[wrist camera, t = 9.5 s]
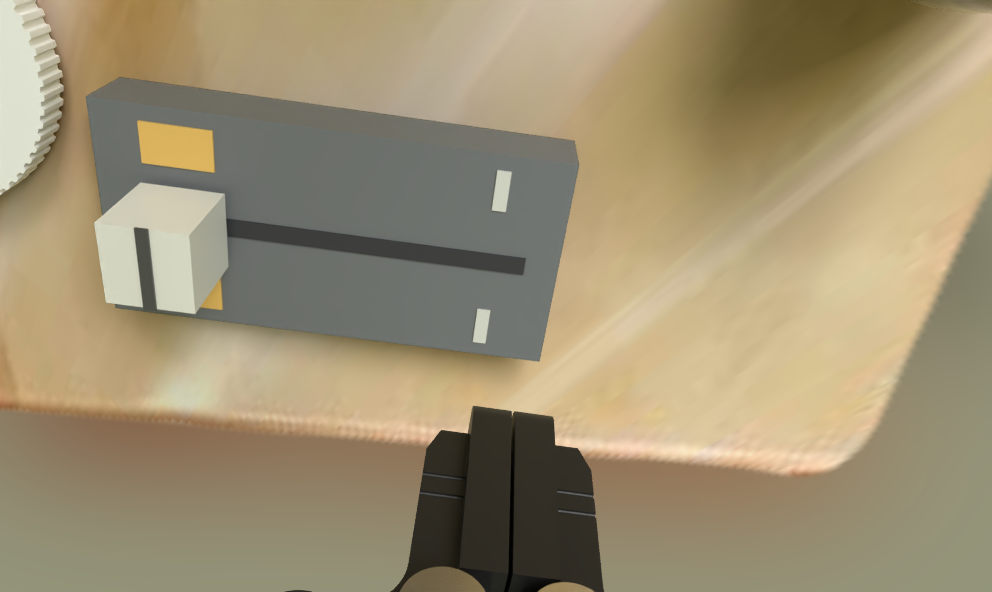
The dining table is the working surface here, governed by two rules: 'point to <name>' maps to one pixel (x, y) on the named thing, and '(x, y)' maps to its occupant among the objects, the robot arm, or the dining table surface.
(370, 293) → the fader slider base
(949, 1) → the pump dispenser
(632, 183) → the dining table surface
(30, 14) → the plastic lid
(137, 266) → the fader knob
